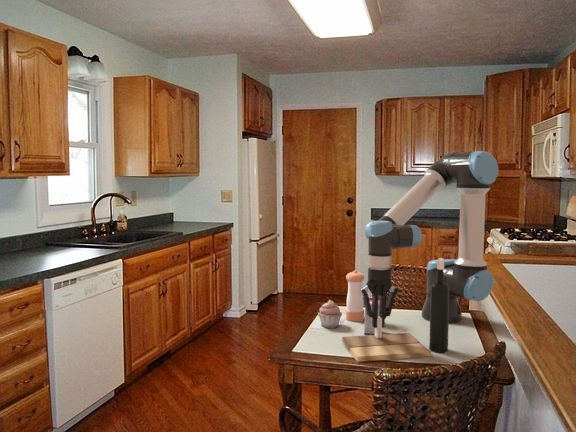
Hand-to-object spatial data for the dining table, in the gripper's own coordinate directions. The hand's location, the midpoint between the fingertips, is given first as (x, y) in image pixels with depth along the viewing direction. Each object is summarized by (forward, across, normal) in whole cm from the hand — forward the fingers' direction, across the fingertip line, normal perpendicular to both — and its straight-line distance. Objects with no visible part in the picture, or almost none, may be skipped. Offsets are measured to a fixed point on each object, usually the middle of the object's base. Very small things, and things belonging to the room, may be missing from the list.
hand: (378, 336), depth 173 cm
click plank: (+2, 0, +2) cm, 3 cm away
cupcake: (+3, +11, -23) cm, 25 cm away
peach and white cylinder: (+3, -1, -30) cm, 30 cm away
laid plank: (+2, 0, +10) cm, 10 cm away
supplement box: (+3, -2, -12) cm, 12 cm away
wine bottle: (+3, -17, +9) cm, 20 cm away
